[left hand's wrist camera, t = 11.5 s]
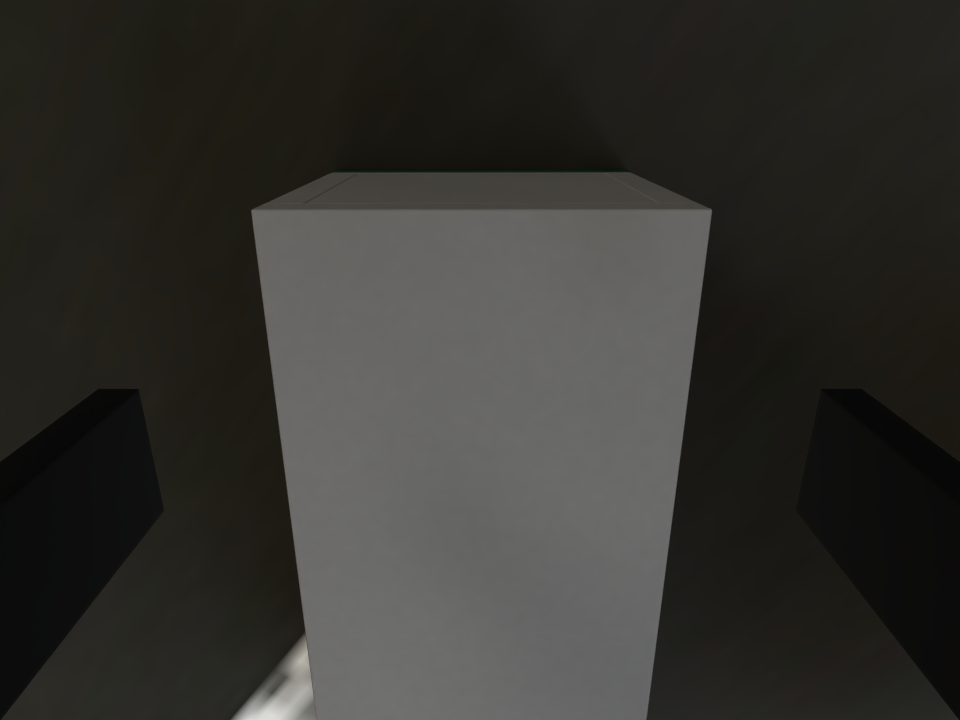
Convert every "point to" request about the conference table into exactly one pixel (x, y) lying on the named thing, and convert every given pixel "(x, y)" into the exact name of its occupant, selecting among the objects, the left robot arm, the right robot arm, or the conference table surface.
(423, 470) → the cabinet
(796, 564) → the conference table surface
